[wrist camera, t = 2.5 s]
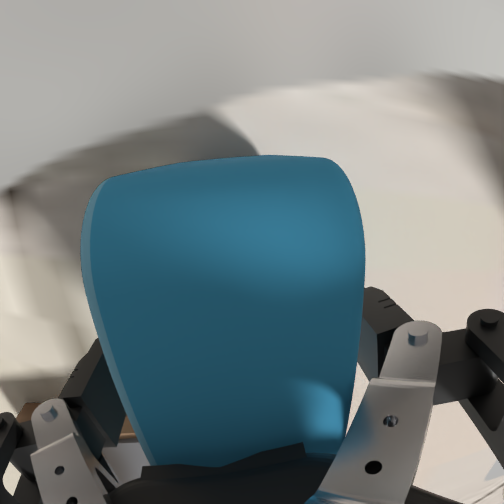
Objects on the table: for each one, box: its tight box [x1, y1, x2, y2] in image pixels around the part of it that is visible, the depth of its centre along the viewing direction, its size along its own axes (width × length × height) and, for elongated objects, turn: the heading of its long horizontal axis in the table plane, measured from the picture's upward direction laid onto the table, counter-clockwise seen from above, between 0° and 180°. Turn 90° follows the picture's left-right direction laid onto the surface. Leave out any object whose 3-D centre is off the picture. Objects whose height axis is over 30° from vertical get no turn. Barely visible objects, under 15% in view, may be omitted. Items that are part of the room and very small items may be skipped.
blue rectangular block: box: [80, 155, 365, 467], centre depth 12 cm, size 12×4×12 cm, turn 4°
